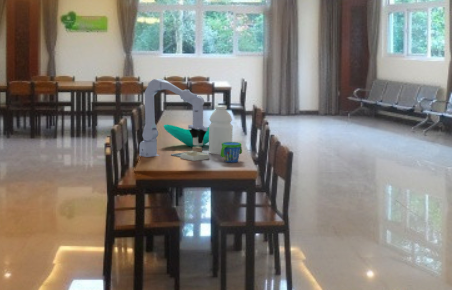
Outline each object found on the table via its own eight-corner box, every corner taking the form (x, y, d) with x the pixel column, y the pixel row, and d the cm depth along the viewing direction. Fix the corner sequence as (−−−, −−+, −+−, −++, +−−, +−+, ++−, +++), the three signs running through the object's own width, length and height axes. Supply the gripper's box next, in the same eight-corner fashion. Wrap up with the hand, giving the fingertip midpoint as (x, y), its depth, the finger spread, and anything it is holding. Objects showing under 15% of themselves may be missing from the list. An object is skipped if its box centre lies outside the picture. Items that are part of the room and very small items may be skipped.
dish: (193, 161, 355) (193, 156, 354) (180, 159, 363) (180, 153, 363) (209, 159, 362) (209, 154, 362) (196, 156, 370) (196, 151, 370)
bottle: (233, 155, 378) (233, 107, 374) (209, 155, 377) (209, 106, 373) (231, 151, 392) (231, 104, 388) (208, 151, 391) (208, 104, 387)
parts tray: (181, 158, 365) (181, 156, 364) (170, 156, 372) (170, 154, 372) (206, 155, 377) (206, 153, 376) (195, 153, 384) (195, 151, 384)
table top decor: (164, 149, 395) (164, 128, 393) (162, 143, 422) (162, 122, 420) (229, 149, 400) (229, 127, 398) (223, 142, 427) (224, 122, 425)
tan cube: (196, 154, 375) (196, 147, 375) (192, 153, 378) (192, 146, 378) (201, 153, 378) (202, 147, 377) (197, 153, 381) (197, 146, 380)
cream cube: (191, 159, 358) (191, 152, 358) (186, 158, 361) (186, 151, 361) (196, 158, 361) (196, 151, 360) (192, 157, 364) (192, 150, 363)
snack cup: (227, 164, 347) (227, 145, 346) (214, 161, 355) (214, 143, 354) (248, 161, 358) (248, 143, 357) (234, 158, 366) (235, 140, 364)
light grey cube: (197, 145, 361) (197, 138, 360) (192, 144, 364) (193, 137, 363) (203, 145, 364) (203, 137, 363) (198, 144, 367) (198, 137, 366)
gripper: (211, 119, 359) (211, 143, 361) (195, 116, 369) (195, 140, 371) (202, 119, 354) (201, 144, 356) (185, 117, 365) (185, 141, 367)
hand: (197, 142), depth 363 cm, fingers closed on light grey cube, 4 cm apart
